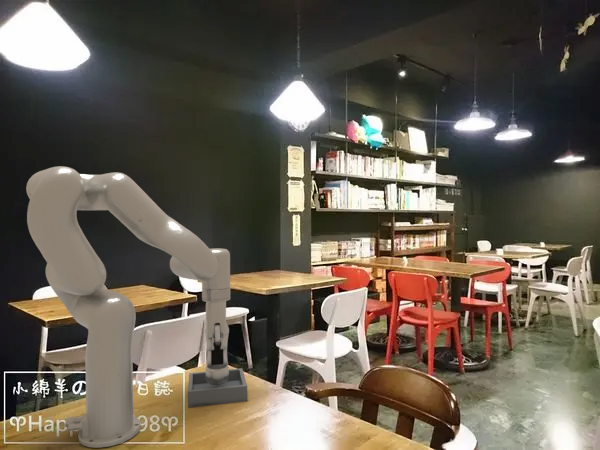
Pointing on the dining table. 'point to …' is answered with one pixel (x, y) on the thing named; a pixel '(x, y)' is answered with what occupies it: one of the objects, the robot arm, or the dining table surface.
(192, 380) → the grey bin
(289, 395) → the dining table surface
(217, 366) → the plastic bottle
